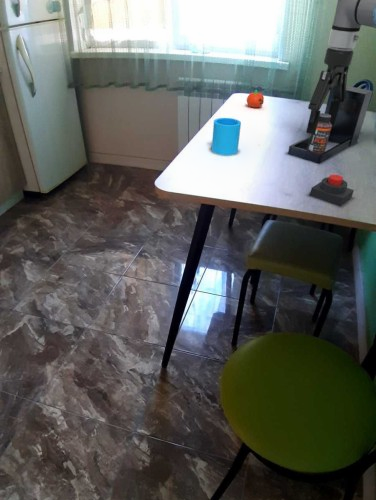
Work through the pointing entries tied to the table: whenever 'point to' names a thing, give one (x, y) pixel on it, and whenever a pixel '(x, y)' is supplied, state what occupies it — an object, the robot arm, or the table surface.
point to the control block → (332, 192)
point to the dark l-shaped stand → (339, 125)
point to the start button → (335, 180)
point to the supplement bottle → (320, 135)
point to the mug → (226, 136)
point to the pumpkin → (255, 99)
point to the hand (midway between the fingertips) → (320, 128)
